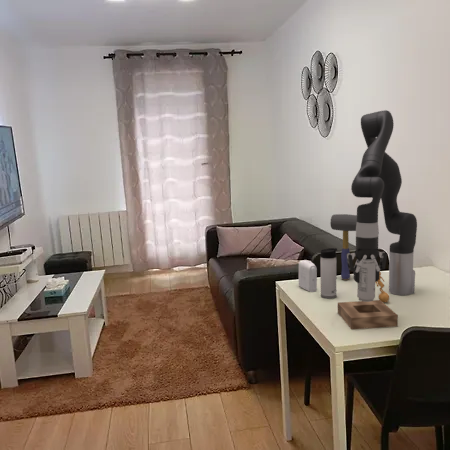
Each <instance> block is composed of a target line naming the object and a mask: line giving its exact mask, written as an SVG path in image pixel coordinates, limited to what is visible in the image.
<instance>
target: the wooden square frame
mask: <svg viewBox="0 0 450 450" xmlns="http://www.w3.org/2000/svg"><path fill="white" fill-rule="evenodd" d="M337 314H338V315H339V317H341V319H342V320H343V321H344V322H345V323H346V325H347V326H348V327H349V328H350V329H351V330H360V329H361V330H363V329H375V328H377V329H379V328H380V329H381V328H394V327H398V322H399V321H398V320H399V319H398V318H399V317H398V314H397V313H396V312H395V311H393V310H392V309H391V308H390V307H389V306H388V305H386V304H385V302H382V301H381V300H379V299H375V300H374V299H373V301H370V302H364V301H360V300H359V301H343V302H337Z"/></svg>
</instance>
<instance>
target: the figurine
mask: <svg viewBox="0 0 450 450" xmlns="http://www.w3.org/2000/svg"><path fill="white" fill-rule="evenodd" d="M381 275H382V273H381V271H380V274H379V280H378V282H375V285H376V287H377V288H379V287H380V288H379V291H380V293H379V294H378V300H381V301H382V302H383V303H387V302H389V301H390V295H389V293H388V292H386V291H385V290H383V288H385V284H384V283H383V282H385V279H383V277H382V276H381ZM382 281H383V282H382Z"/></svg>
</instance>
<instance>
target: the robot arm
mask: <svg viewBox="0 0 450 450" xmlns="http://www.w3.org/2000/svg"><path fill="white" fill-rule="evenodd" d="M360 128H361V133H362V135H363V138H364V141H365V144H366V147H367V148H366V150H364V153H363V155H362V157H361V158H362V159H361V164H360V168H359V170H358V172H357V173H356V175H355V176H354V177H353V180H352V183H351V189H350V190H351V193H352V194H353V196H354V197H356V198H365V199H366V198H372V199H371V201H369V202H368V203H363V204H360V205H358V206H356V207H357V208H356V215H357V224H356V231H355V250H354V252H352V253H350V254H349V253H347V262H348V269H349V271H351V272H353V280H354V281H355V282H356V283H357V284H358V283H359V270H360V267H361V265H362V264H361V263H363V262H364V260H366V259H373V261H374V262H375V266H376V276H375V283H376V282H377V283H378V280H379V274H381V273H380V272H381V270H385V269H386V265H387V260H388V259H389V261H388V263H389V265H388V293H390V294H393V295H396V296H409V295H412V294H415V293H416V292H415V290H416V289H415V287H416V286H415V285H416V284H415V283H416V282H415V281H416V271H415V270H414V253H415V246H416V244H417V241H416V240H417V232H418V231H417V230H418V220H417V217H416V215H414V214H413V213H411V212H403V211H400V210H399V206H398V201H397V200H398V194H399V192H400V189H401V187H402V182H403V181H402V180H403V179H402V175H401V171H400V167H399V164H398V163H397V162H396V160H395V159H394V158H393V157H392V156H390V155H389V154H388V153H387V152H386V151H387V147H388V145H389V144H390V143H389V142H390V140H391V137H392V134H393V132H394V131H393V130H394V118H393V115H392V113H391V111H389V110H386V109H385V110H379V111H374V112H370V113H366V114H364V115H361V118H360ZM380 203H381V204H382V211H383V218H384V225H385V227H386V230H387V231H388V233H390V234H393V235H398V236H399V239H398V241H395V242H392V243H390V244H389V255H388V252H386V251H383V250H382V251H379V235H380V233H379V231H380V230H379V207H380ZM378 257H379V258H380V259H379V264H378V262H377V258H378ZM388 257H389V258H388ZM355 258H356V261H355V264H354V259H355ZM387 258H388V259H387ZM358 261H360V262H359V263H358Z"/></svg>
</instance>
